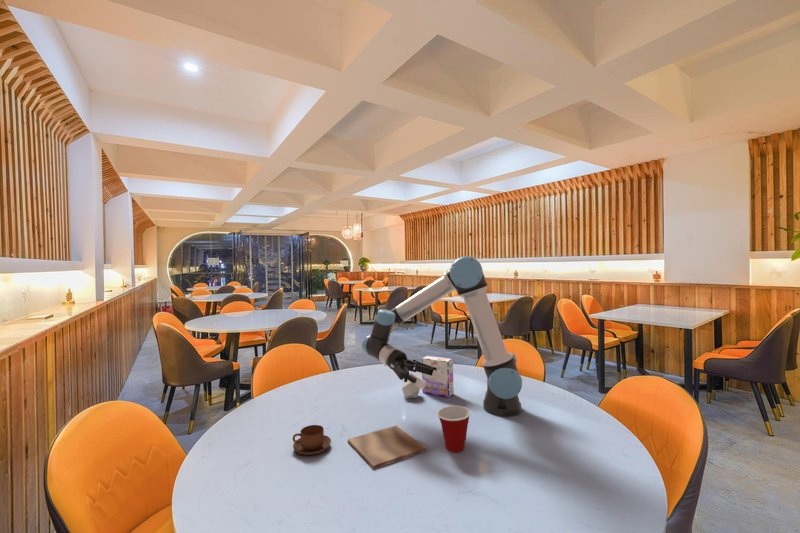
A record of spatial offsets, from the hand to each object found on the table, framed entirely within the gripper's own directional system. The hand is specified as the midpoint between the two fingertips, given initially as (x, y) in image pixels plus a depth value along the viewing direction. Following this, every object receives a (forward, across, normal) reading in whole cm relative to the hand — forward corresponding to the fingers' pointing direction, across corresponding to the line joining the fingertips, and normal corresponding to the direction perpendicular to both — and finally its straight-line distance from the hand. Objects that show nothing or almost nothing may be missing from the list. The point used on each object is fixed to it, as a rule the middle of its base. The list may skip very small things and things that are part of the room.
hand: (436, 383), depth 121 cm
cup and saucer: (-20, +29, -30) cm, 46 cm away
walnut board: (-4, +13, -22) cm, 26 cm away
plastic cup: (+13, 0, -16) cm, 21 cm away
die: (-26, -26, -22) cm, 44 cm away
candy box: (-20, -38, -19) cm, 47 cm away
